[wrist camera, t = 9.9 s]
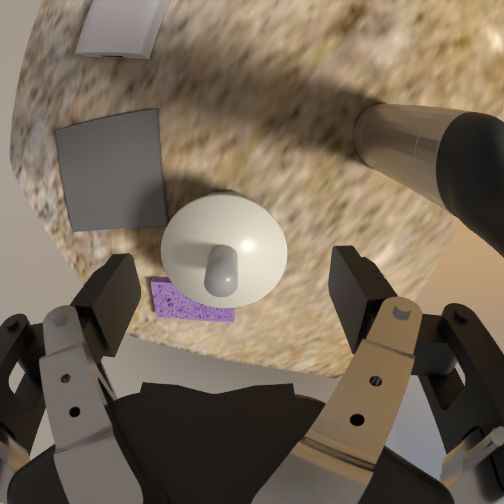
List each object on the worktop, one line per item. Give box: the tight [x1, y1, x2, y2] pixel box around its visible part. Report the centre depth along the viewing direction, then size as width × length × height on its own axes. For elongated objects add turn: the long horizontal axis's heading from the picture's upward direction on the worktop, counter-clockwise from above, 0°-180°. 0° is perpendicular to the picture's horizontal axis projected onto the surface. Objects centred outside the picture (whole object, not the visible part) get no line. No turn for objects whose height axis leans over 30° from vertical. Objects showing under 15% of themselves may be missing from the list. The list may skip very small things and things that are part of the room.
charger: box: [75, 0, 170, 59], centre depth 21 cm, size 5×9×15 cm
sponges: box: [151, 277, 235, 322], centre depth 42 cm, size 7×13×2 cm, turn 86°
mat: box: [56, 109, 169, 232], centre depth 32 cm, size 15×15×1 cm
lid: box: [161, 194, 287, 308], centre depth 29 cm, size 14×14×6 cm
